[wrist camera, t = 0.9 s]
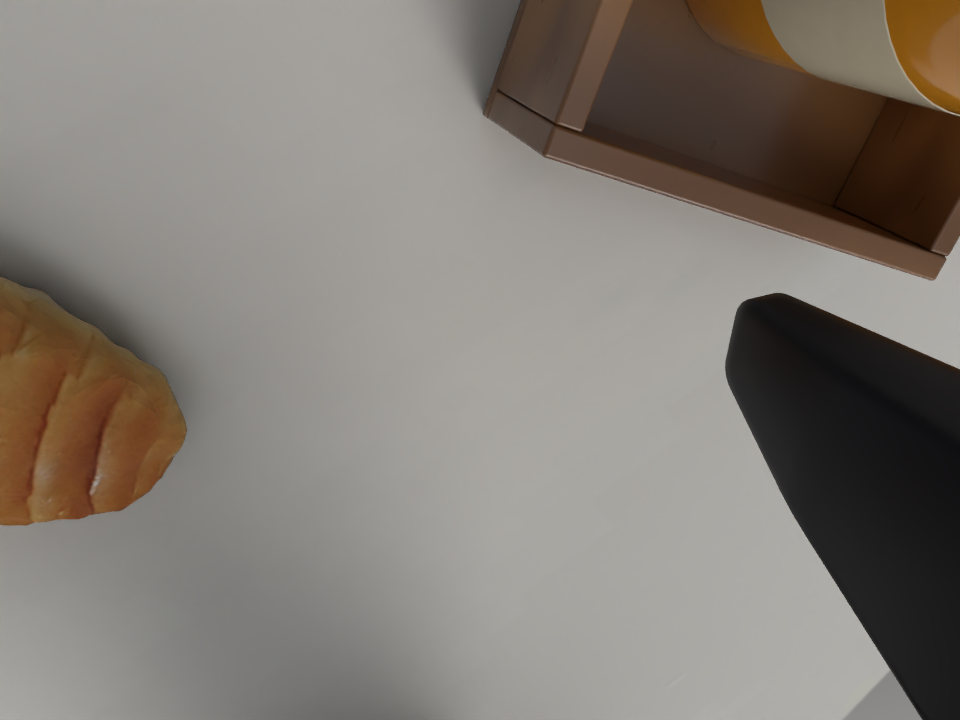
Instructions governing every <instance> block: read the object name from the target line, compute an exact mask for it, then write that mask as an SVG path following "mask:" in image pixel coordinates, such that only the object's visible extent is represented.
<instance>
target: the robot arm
mask: <svg viewBox="0 0 960 720" xmlns="http://www.w3.org/2000/svg"><path fill="white" fill-rule="evenodd" d="M725 371H726V377H727V381H728V384H729V386H730V389H731V391H732V393H733V395H734V397H735V399H736V401H737V403H738V405H739V407H740V409H741V411H742V413H743V415H744V418H745V420H746V422H747V424H748V426H749V428H750V430H751V432H752V434H753V436H754V438H755V440H756V442H757V444H758V446H759V448H760V450H761V452H762V454H763V456H764V459H765V461H766V463H767V465H768V467H769V469H770V471H771V473H772V475H773V477H774V479H775V481H776V483H777V485H778V487H779V489H780V491H781V493H782V495H783V497H784V499H785V501H786V503H787V505H788V506H789V508H790V510H791V512H792V514H793V515H794V517H795V519H796V520H797V522H798V524H799V525H800V527H801V529H802V530H803V532H804V534H805V535H806V537H807V538H808V540H809V542H810V543H811V545H812V546H813V548H814V549H815V551H816V553H817V554H818V556H819V557H820V559H821V560H822V562H823V564H824V565H825V567H826V568H827V570H828V572H829V573H830V575H831V576H832V578H833V579H834V581H835V583H836V584H837V586H838V587H839V589H840V591H841V592H842V594H843V595H844V597H845V598H846V600H847V602H848V603H849V605H850V606H851V608H852V609H853V611H854V613H855V614H856V616H857V617H858V619H859V621H860V622H861V624H862V625H863V627H864V628H865V630H866V632H867V633H868V635H869V636H870V638H871V640H872V641H873V643H874V644H875V646H876V647H877V649H878V651H879V652H880V654H881V655H882V657H883V658H884V660H885V662H886V663H887V665H888V666H889V668H890V670H891V671H892V673H893V674H894V676H895V677H896V679H897V681H898V682H899V684H900V685H901V687H902V688H903V690H904V692H905V693H906V695H907V696H908V698H909V700H910V701H911V703H912V704H913V706H914V707H915V709H916V710H917V712H918V714H919V715H920V717H921V718H922V720H960V369H958V368H955V367H953V366H951V365H948V364H946V363H944V362H942V361H939V360H937V359H935V358H932V357H930V356H928V355H925V354H923V353H921V352H918V351H916V350H914V349H912V348H909V347H907V346H905V345H902V344H900V343H898V342H895V341H893V340H891V339H889V338H886V337H884V336H882V335H879V334H877V333H875V332H872V331H870V330H868V329H866V328H863V327H861V326H859V325H856V324H854V323H852V322H849V321H847V320H845V319H842V318H840V317H838V316H836V315H833V314H831V313H829V312H826V311H824V310H822V309H819V308H817V307H815V306H813V305H810V304H808V303H806V302H803V301H801V300H799V299H796V298H794V297H792V296H789V295H787V294H783V293H774V294H769V295H765V296H761V297H756V298H752V299H748V300H746V301H744V302H742V303H741V305H740V306H739V308H738V309H737V312H736V315H735V320H734V325H733V329H732V334H731V338H730V343H729V348H728V352H727V357H726V363H725Z"/></svg>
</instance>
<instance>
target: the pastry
mask: <svg viewBox="0 0 960 720" xmlns="http://www.w3.org/2000/svg"><path fill="white" fill-rule="evenodd" d="M186 432H187V428H186V422H185V419H184V417H183V415H182V413H181V410H180V408H179V406H178V404H177V402H176V400H175V398H174V395H173V393H172V391H171V388H170V386H169V384H168V382H167V380H166V378H165V376H164V375H163V373H162V372H161V371H160V370H159V369H157V368H156V367H154V366H152V365H150V364H148V363H145V362H143V361H141V360H140V359H138V358H137V357H136V356H135V355H134V354H133V353H132V352H130V351H129V350H127V349H125V348H123V347H120V346H118V345H116V344H114V343H113V342H112V341H110V340H109V339H108V338H107V337H106V336H105V335H104V334H103V333H102V332H101V331H100V330H99V329H98V328H97V327H95V326H94V325H92V324H89V323H87V322H84V321H82V320H80V319H78V318H77V317H75V316H73V315H71V314H70V313H68V312H67V311H66V310H64V309H63V308H62V307H61V306H59V305H58V304H57V303H56V302H55V301H54V300H53V299H52V298H51V297H50V296H49V295H48V294H47V293H45V292H43V291H41V290H38V289H34V288H28V287H22V286H20V285H19V284H17V283H15V282H13V281H10V280H8V279H5V278H2V277H0V525H8V526H9V525H29V524H31V523H34V522H47V521H52V520H59V519H81V518H84V517H86V516H88V515H92V514H99V513H105V512H112V511H120V510H123V509H124V508H126V507H127V506H129V505H130V504H132V503H133V502H135V501H136V500H137V499H139V498H140V497H142V496H143V495H145V494H146V493H148V492H149V491H150V490H151V489H152V487H153V486H154V485H155V483H156V482H157V481H158V480H159V479H161V478H162V476H163V474H164V472H165V471H166V469H167V468H168V466H169V464H170V463H171V461H172V459H173V457H174V455H175V454H176V453H177V452H178V451H179V450H180V448H181V447H182V445H183V443H184V440H185V436H186Z"/></svg>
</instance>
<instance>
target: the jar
mask: <svg viewBox="0 0 960 720" xmlns="http://www.w3.org/2000/svg"><path fill="white" fill-rule="evenodd" d="M686 2H687V4H688V6H689V8H690V10H691V12H692V14H693V16H694V18H695V19H696V20H697V22H698V23H699V25H700V26H701V27H702V29H703V30H704V31H705V32H706V33H707V34H708V35H709V36H710V37H711V38H712V39H713V40H714V41H715V42H716V43H718V44H719V45H720V46H722V47H723V48H724V49H726V50H728V51H730V52H732V53H734V54H736V55H739V56H742V57H745V58H748V59H751V60H755V61H759V62H763V63H766V64H770V65H774V66H777V67H781V68H785V69H789V70H792V71H796V72H800V73H804V74H807V75H811V76H815V77H818V78H821V79H824V80H827V81H830V82H834V83H837V84H841V85H844V86H848V87H852V88H856V89H859V90H863V91H867V92H870V93H874V94H878V95H882V96H885V97H889V98H893V99H896V100H900V101H904V102H907V103H911V104H915V105H919V106H922V107H926V108H930V109H933V110H937V111H941V112H944V113H948V114H952V115H956V116H959V117H960V0H686Z"/></svg>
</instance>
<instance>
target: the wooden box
mask: <svg viewBox="0 0 960 720" xmlns="http://www.w3.org/2000/svg"><path fill="white" fill-rule="evenodd" d="M483 115H484V116H486V117H487V118H490V119H491V120H492V121H494V122H495V123H496V124H498V125H499V126H501V127H502V128H504V129H505V130H506V131H508V132H509V133H511V134H512V135H514V136H515V137H516V138H518V139H519V140H521V141H522V142H524V143H525V144H526V145H528V146H529V147H531V148H532V149H534V150H535V151H536V152H538V153H539V154H541V155H542V156H544V157H546V158H549V159H552V160H555V161H558V162H561V163H564V164H568V165H571V166H574V167H577V168H580V169H583V170H586V171H590V172H593V173H596V174H599V175H602V176H605V177H608V178H611V179H615V180H618V181H621V182H624V183H627V184H630V185H633V186H637V187H640V188H643V189H646V190H649V191H652V192H655V193H658V194H662V195H665V196H668V197H671V198H674V199H677V200H680V201H683V202H687V203H690V204H693V205H696V206H699V207H702V208H705V209H709V210H712V211H715V212H718V213H721V214H724V215H727V216H730V217H734V218H737V219H740V220H743V221H746V222H749V223H752V224H756V225H759V226H762V227H765V228H768V229H771V230H774V231H777V232H781V233H784V234H787V235H790V236H793V237H796V238H799V239H803V240H806V241H809V242H812V243H815V244H818V245H821V246H824V247H828V248H831V249H834V250H837V251H840V252H843V253H846V254H850V255H853V256H856V257H859V258H862V259H865V260H868V261H871V262H875V263H878V264H881V265H884V266H887V267H890V268H893V269H896V270H900V271H903V272H906V273H909V274H912V275H915V276H918V277H922V278H925V279H928V280H935V279H936V277H937V275H938V274H939V272H940V270H941V268H942V267H943V265H944V263H945V261H946V257H945V256H948V255H949V254H950V252H951V251H952V249H953V247H954V245H955V244H956V242H957V240H958V238H959V236H960V117H959V116H956V115H952V114H948V113H944V112H941V111H937V110H933V109H930V108H926V107H922V106H919V105H915V104H911V103H907V102H904V101H900V100H896V99H893V98H889V97H885V96H882V95H878V94H874V93H870V92H867V91H863V90H859V89H856V88H852V87H848V86H844V85H841V84H837V83H834V82H830V81H827V80H824V79H821V78H818V77H815V76H811V75H807V74H804V73H800V72H796V71H792V70H789V69H785V68H781V67H777V66H774V65H770V64H766V63H763V62H759V61H755V60H751V59H748V58H745V57H742V56H739V55H736V54H734V53H732V52H730V51H728V50H726V49H724V48H723V47H722V46H720V45H719V44H718V43H716V42H715V41H714V40H713V39H712V38H711V37H710V36H709V35H708V34H707V33H706V32H705V31H704V30H703V29H702V27H701V26H700V25H699V23H698V22H697V20H696V19H695V18H694V16H693V14H692V12H691V10H690V8H689V6H688V4H687V2H686V0H521V3H520V6H519V9H518V12H517V15H516V18H515V21H514V24H513V27H512V29H511V32H510V35H509V38H508V41H507V44H506V47H505V50H504V53H503V56H502V59H501V62H500V65H499V67H498V70H497V73H496V76H495V79H494V82H493V85H492V88H491V91H490V94H489V97H488V100H487V103H486V105H485V108H484V111H483Z"/></svg>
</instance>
